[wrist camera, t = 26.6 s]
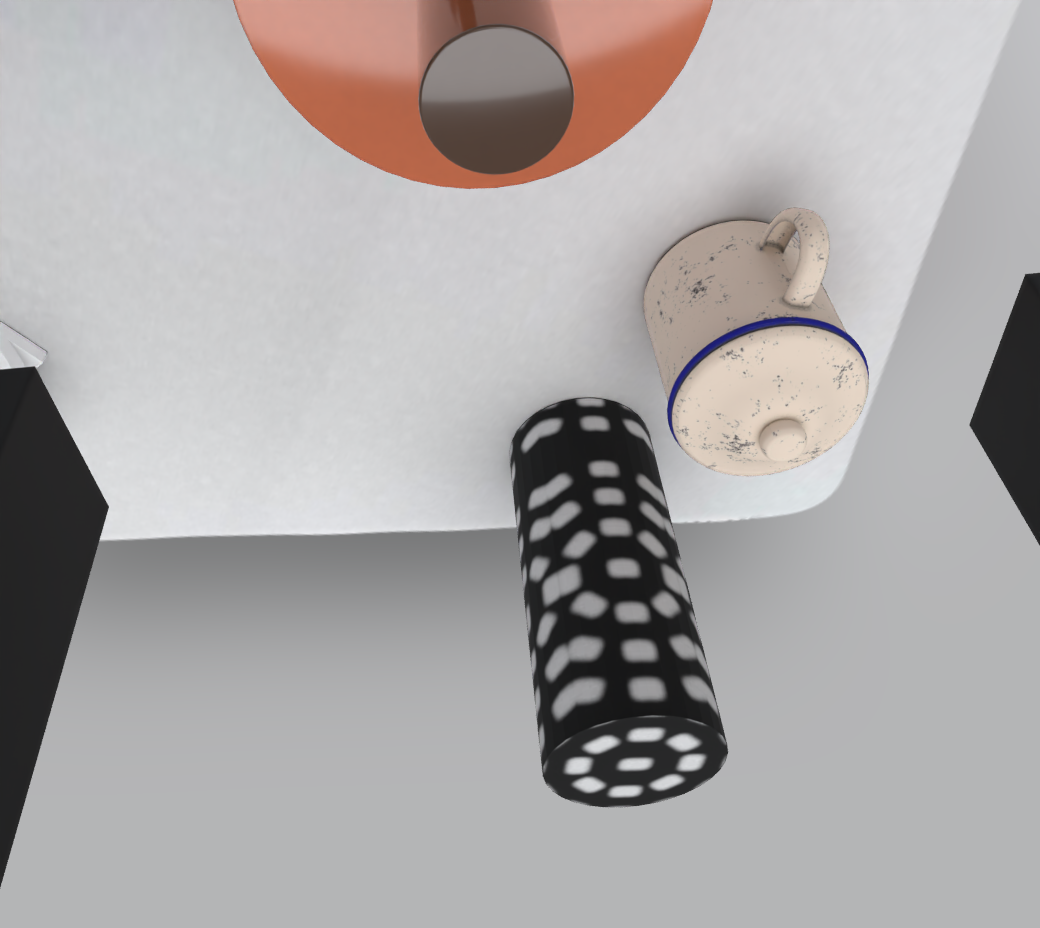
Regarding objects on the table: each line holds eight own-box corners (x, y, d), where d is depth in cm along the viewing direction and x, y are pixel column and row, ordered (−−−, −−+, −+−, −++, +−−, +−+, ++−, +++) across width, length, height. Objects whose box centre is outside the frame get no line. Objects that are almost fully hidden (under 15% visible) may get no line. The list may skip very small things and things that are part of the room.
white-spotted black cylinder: (503, 498, 61) (533, 810, 47) (516, 396, 55) (554, 717, 41) (636, 499, 62) (704, 804, 48) (662, 398, 56) (749, 713, 42)
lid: (157, -340, 22) (53, -257, 15) (739, -387, 22) (875, -324, 16) (287, 187, 31) (256, 376, 25) (696, 150, 31) (771, 328, 25)
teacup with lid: (773, 368, 55) (837, 526, 47) (616, 349, 53) (654, 510, 45) (871, 173, 47) (969, 324, 38) (689, 142, 45) (752, 294, 37)
